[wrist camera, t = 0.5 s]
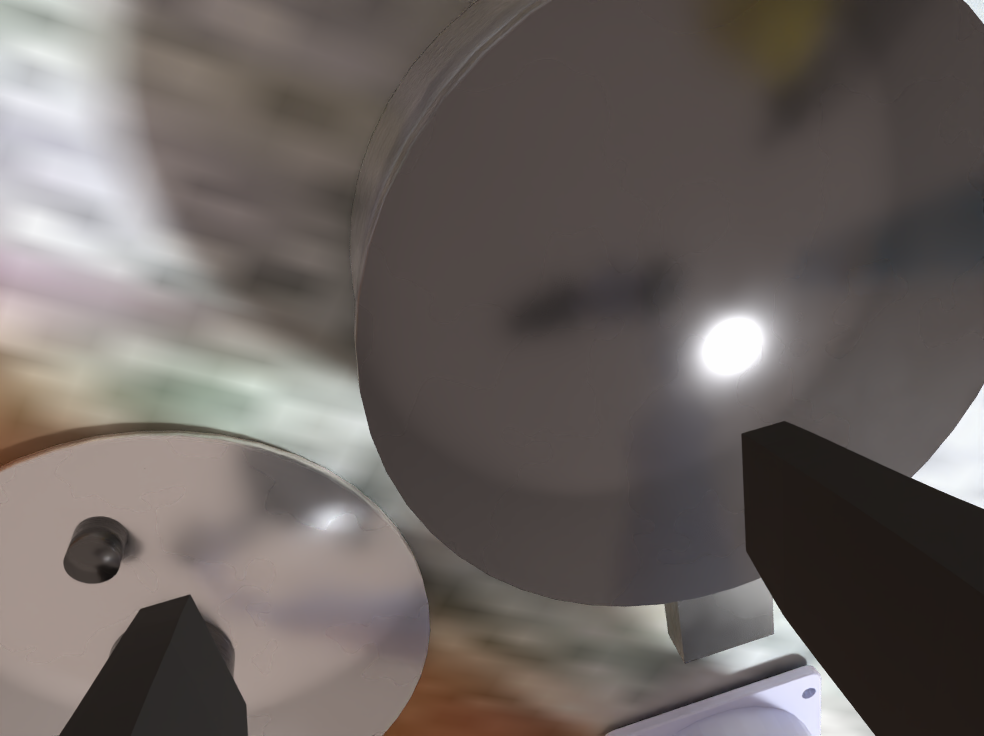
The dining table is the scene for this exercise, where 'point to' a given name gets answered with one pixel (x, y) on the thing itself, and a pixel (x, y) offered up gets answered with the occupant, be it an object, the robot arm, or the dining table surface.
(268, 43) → the dining table surface
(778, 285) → the cooking pot
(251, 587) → the lid
